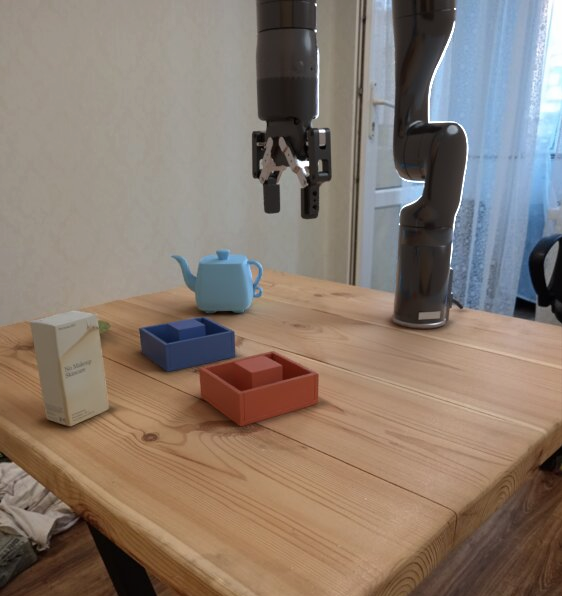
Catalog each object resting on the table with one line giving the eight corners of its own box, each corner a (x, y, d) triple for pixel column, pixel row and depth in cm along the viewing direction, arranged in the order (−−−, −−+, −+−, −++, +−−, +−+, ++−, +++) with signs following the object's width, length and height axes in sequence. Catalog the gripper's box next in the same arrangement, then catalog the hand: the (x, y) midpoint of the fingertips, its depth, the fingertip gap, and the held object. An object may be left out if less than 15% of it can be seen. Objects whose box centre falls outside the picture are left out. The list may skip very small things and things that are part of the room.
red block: (264, 386, 75) (263, 355, 74) (282, 397, 72) (282, 365, 70) (234, 394, 73) (233, 362, 71) (252, 406, 70) (251, 372, 68)
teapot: (179, 300, 121) (175, 245, 116) (265, 299, 120) (263, 244, 116) (167, 316, 109) (162, 256, 105) (262, 316, 109) (261, 255, 105)
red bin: (273, 378, 79) (273, 350, 78) (318, 403, 72) (318, 373, 70) (200, 397, 74) (198, 367, 72) (240, 426, 66) (239, 394, 64)
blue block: (194, 344, 92) (192, 318, 90) (206, 352, 88) (205, 324, 86) (168, 350, 89) (166, 322, 88) (180, 358, 86) (178, 329, 84)
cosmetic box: (69, 428, 66) (53, 326, 61) (44, 419, 68) (27, 321, 64) (111, 408, 71) (99, 313, 66) (87, 401, 73) (73, 308, 68)
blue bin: (205, 339, 96) (204, 316, 94) (235, 356, 88) (234, 331, 86) (141, 352, 90) (138, 327, 89) (167, 372, 82) (164, 345, 81)
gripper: (350, 71, 65) (347, 218, 72) (280, 83, 76) (283, 209, 83) (296, 69, 62) (298, 224, 68) (231, 81, 73) (237, 213, 79)
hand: (290, 215), depth 75 cm, fingers open, 8 cm apart
